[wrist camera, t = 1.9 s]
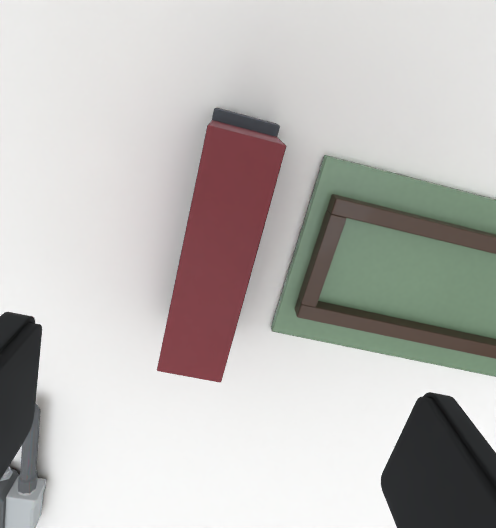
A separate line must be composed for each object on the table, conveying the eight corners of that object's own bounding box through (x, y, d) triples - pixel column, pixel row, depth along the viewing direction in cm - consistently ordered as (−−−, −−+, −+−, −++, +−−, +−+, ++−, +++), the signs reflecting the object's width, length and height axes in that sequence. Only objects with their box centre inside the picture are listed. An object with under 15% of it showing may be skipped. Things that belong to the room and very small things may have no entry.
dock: (324, 154, 25) (330, 158, 23) (627, 234, 27) (653, 242, 26) (270, 327, 29) (273, 341, 27) (538, 381, 32) (555, 397, 30)
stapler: (215, 107, 24) (210, 110, 18) (276, 123, 24) (290, 131, 18) (170, 320, 29) (156, 374, 23) (222, 330, 29) (220, 385, 23)
